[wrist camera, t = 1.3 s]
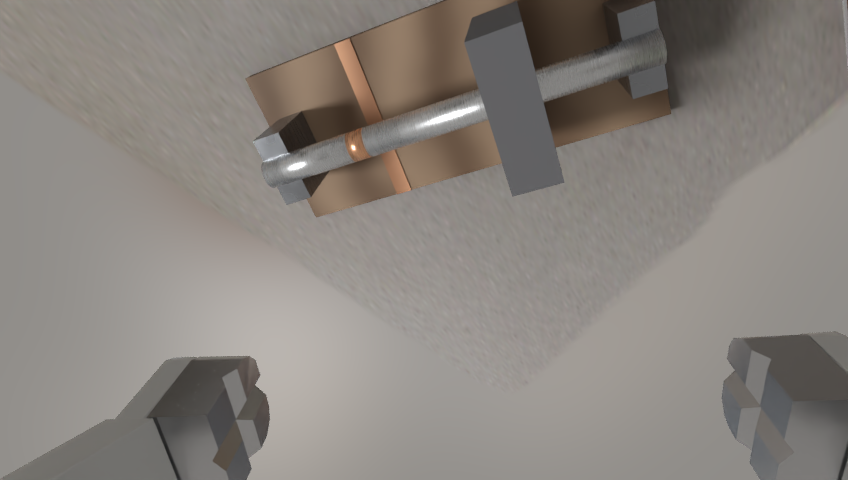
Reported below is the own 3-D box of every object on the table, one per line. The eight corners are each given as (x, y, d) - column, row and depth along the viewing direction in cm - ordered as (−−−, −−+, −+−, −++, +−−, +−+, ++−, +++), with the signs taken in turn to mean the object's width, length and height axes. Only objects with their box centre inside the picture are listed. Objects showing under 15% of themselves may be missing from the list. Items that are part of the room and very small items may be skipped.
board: (638, -76, 32) (642, -77, 31) (667, 109, 37) (671, 114, 36) (250, 75, 40) (244, 79, 39) (319, 212, 45) (315, 217, 44)
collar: (516, 0, 34) (522, 21, 26) (550, 130, 38) (564, 182, 30) (471, 17, 35) (464, 42, 27) (509, 143, 38) (512, 196, 31)
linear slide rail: (634, -9, 33) (659, 2, 28) (647, 69, 35) (673, 92, 30) (279, 119, 40) (246, 146, 35) (308, 177, 42) (281, 211, 37)
